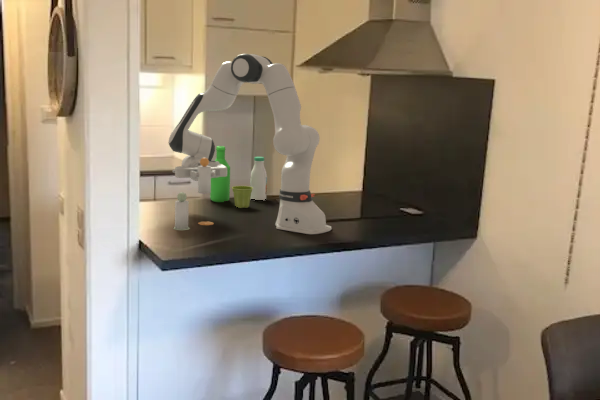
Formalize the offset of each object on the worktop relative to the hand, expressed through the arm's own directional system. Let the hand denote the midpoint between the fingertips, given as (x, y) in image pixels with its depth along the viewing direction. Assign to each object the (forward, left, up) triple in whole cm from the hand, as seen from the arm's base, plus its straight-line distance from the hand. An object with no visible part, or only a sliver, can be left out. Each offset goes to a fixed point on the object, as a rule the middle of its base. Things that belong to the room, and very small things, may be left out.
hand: (205, 174), depth 244 cm
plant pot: (+14, -35, -20) cm, 43 cm away
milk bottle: (+21, -53, -20) cm, 61 cm away
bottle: (+30, -37, -20) cm, 52 cm away
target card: (-2, +7, -20) cm, 21 cm away
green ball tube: (-2, +13, -19) cm, 22 cm away
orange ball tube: (+1, 0, -7) cm, 7 cm away
